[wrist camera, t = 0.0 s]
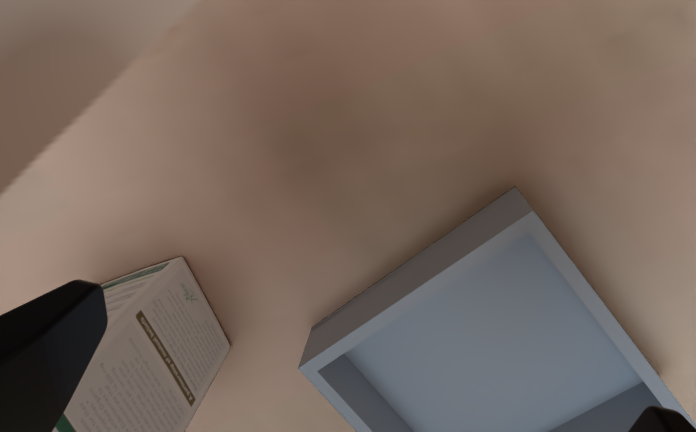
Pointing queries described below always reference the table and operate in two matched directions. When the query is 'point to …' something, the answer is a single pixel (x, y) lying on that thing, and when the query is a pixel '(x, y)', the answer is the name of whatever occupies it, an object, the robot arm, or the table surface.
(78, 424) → the syrup box
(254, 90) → the table surface
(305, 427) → the table surface
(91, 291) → the robot arm
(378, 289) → the bin
